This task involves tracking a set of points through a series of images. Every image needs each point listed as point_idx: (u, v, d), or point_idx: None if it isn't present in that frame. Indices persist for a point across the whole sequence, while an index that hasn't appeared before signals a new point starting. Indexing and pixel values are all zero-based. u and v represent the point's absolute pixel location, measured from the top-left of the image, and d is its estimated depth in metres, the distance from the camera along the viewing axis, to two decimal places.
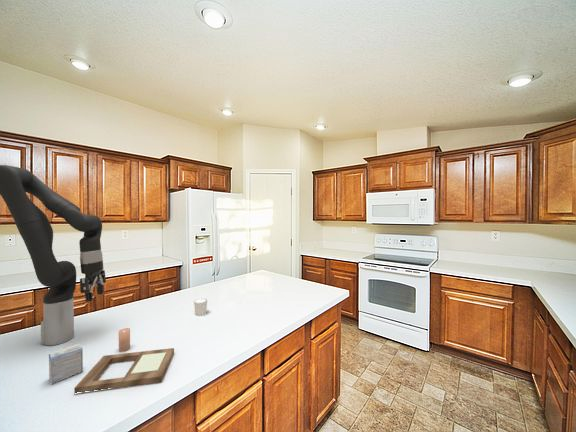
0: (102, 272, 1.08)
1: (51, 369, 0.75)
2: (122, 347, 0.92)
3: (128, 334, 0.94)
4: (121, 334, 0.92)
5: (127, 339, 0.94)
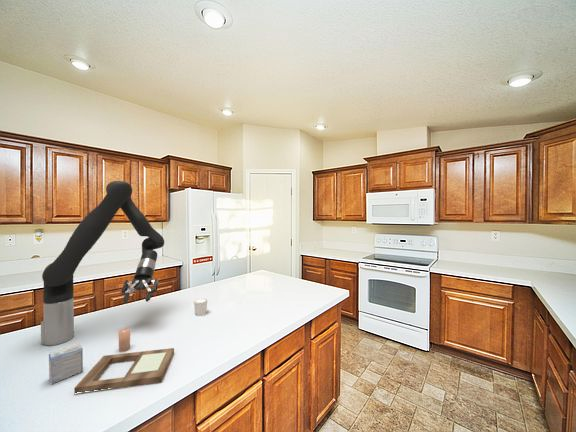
0: None
1: (51, 369, 0.75)
2: (122, 347, 0.92)
3: (128, 334, 0.94)
4: (121, 334, 0.92)
5: (127, 339, 0.94)
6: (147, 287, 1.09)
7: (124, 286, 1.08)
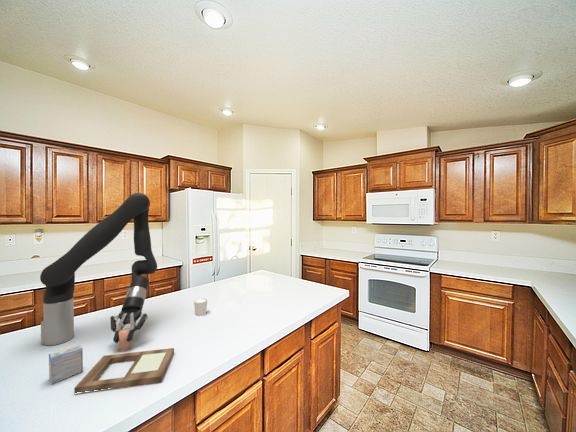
0: None
1: (51, 369, 0.75)
2: (122, 347, 0.92)
3: None
4: (121, 334, 0.92)
5: None
6: (131, 323, 0.96)
7: (112, 323, 0.95)
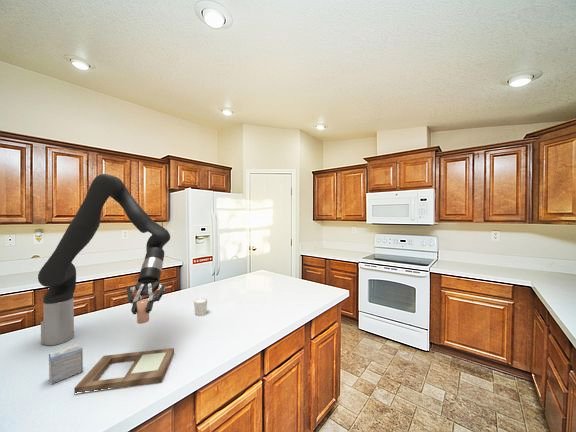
0: None
1: (51, 369, 0.75)
2: (140, 318, 0.85)
3: None
4: (139, 304, 0.85)
5: None
6: (150, 294, 0.89)
7: (129, 294, 0.88)
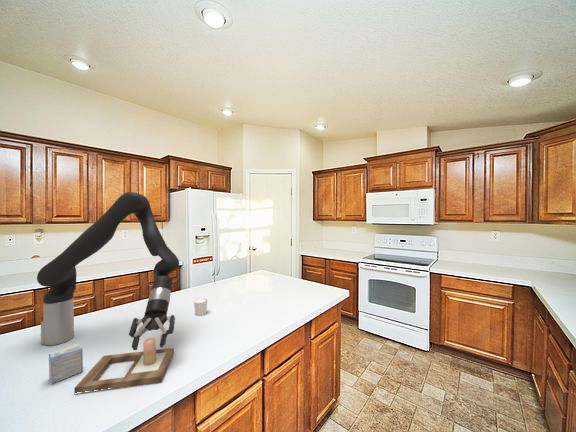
0: None
1: (51, 369, 0.75)
2: (147, 360, 0.81)
3: (154, 345, 0.82)
4: (146, 345, 0.81)
5: (153, 351, 0.82)
6: (161, 327, 0.85)
7: (132, 327, 0.84)
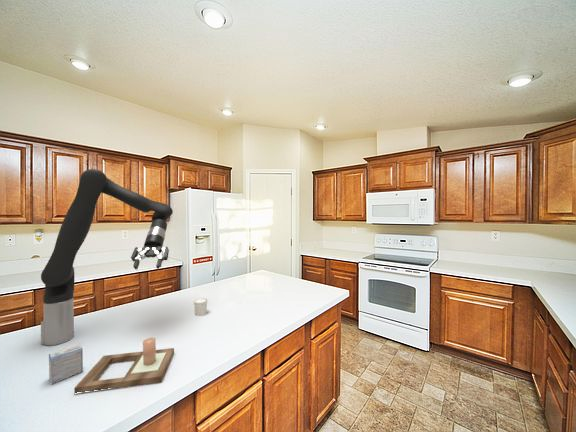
0: None
1: (51, 369, 0.75)
2: (146, 359, 0.81)
3: (153, 345, 0.82)
4: (145, 345, 0.81)
5: (152, 351, 0.82)
6: (158, 254, 1.05)
7: (134, 253, 1.04)
